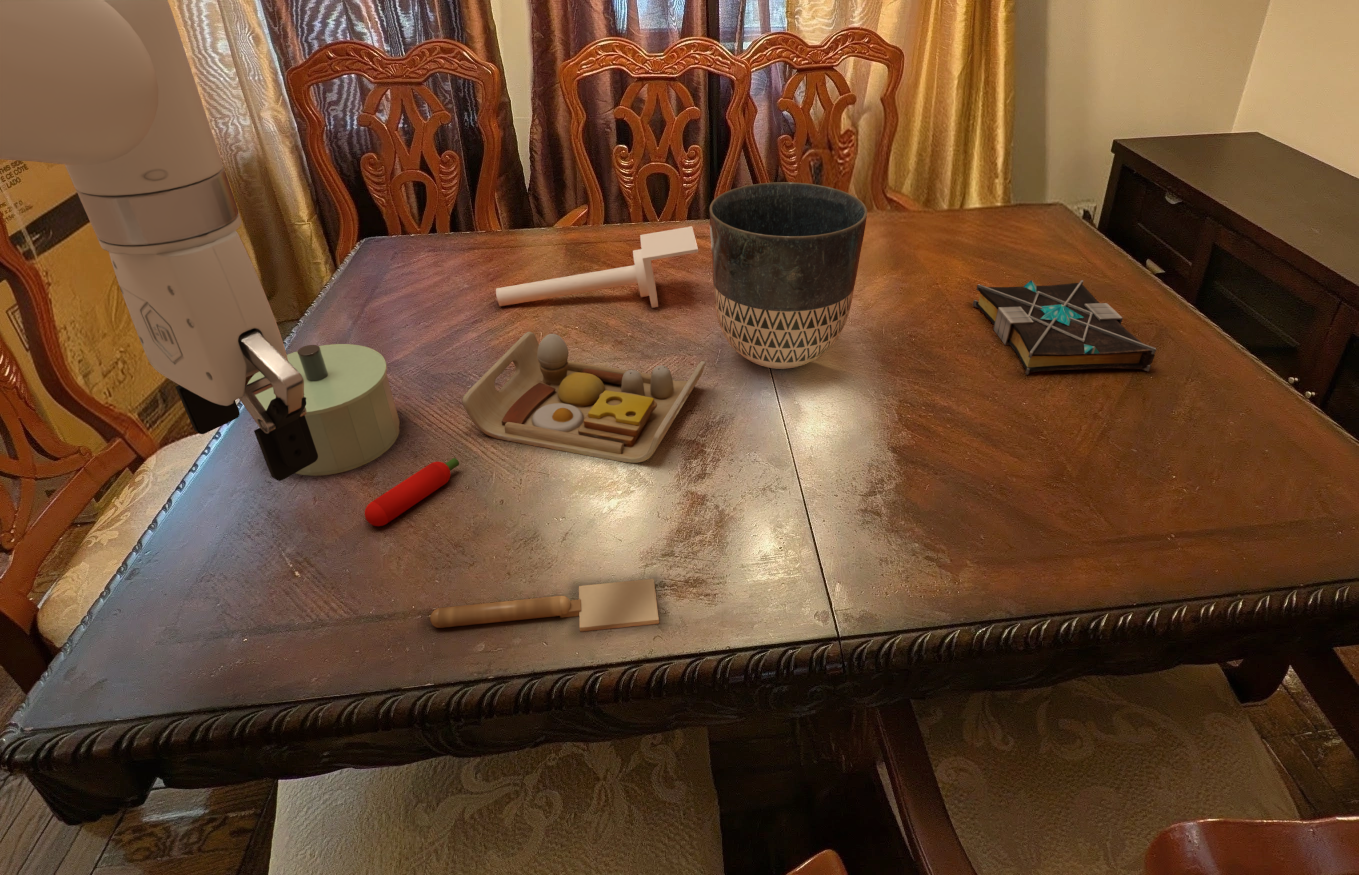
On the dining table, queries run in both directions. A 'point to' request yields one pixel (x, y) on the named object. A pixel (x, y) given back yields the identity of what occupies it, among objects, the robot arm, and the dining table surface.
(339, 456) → the pot
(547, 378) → the toy food set
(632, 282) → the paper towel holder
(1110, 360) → the book
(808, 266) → the planter
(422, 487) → the chili pepper
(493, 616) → the spatula
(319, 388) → the pot lid
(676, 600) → the dining table surface
